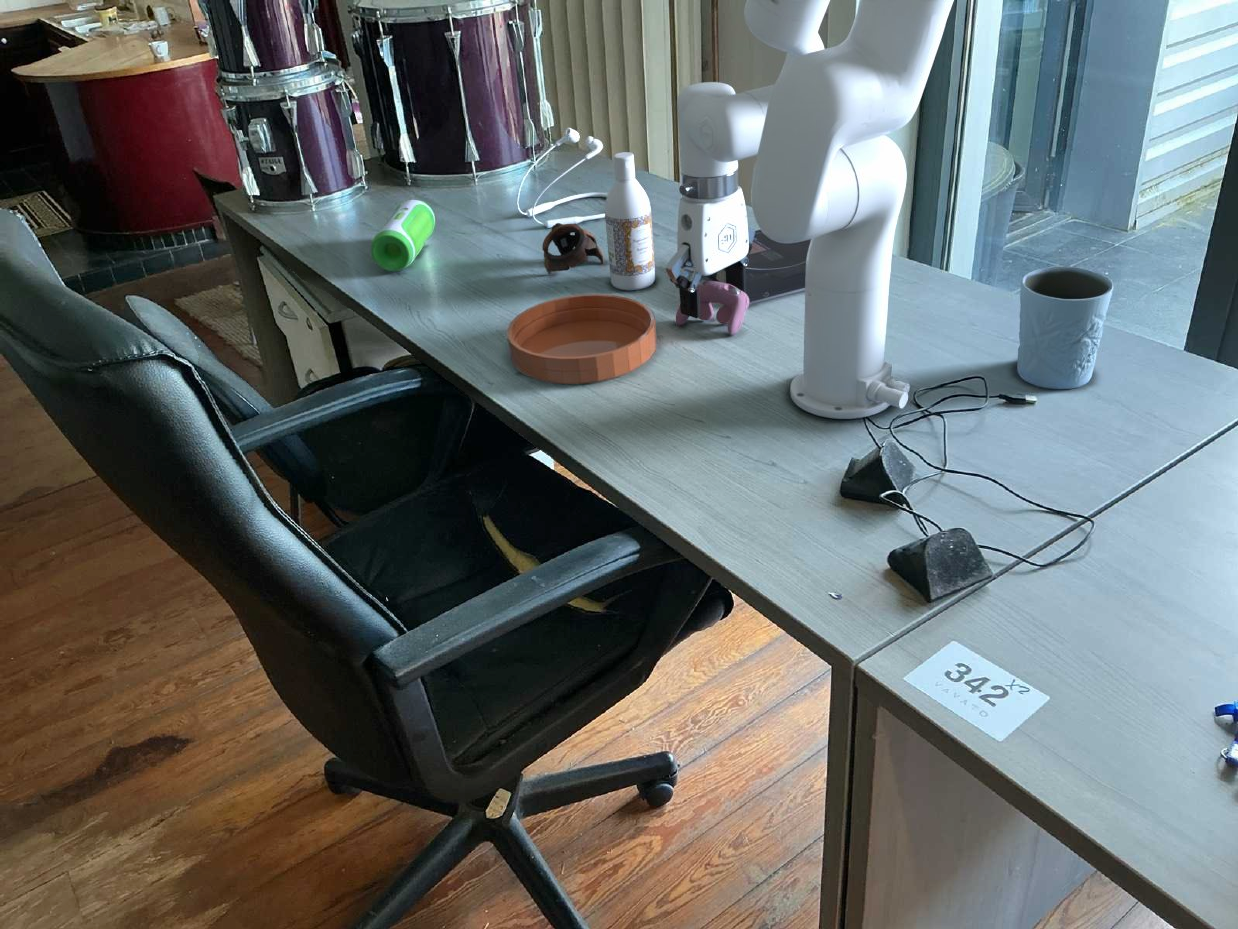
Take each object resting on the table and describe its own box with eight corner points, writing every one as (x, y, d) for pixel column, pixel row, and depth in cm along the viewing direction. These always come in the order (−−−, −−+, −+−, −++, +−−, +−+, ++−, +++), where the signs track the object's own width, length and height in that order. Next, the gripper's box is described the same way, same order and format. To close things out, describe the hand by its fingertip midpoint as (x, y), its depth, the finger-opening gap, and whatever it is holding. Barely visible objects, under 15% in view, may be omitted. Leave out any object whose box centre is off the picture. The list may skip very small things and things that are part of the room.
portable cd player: (692, 269, 165) (691, 245, 163) (785, 246, 170) (785, 223, 168) (742, 306, 152) (742, 280, 150) (842, 280, 157) (843, 255, 155)
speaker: (401, 237, 188) (393, 196, 184) (441, 235, 187) (433, 195, 183) (373, 275, 173) (364, 232, 169) (416, 274, 172) (407, 230, 168)
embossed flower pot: (1086, 398, 123) (1104, 305, 116) (999, 382, 127) (1011, 291, 121) (1103, 362, 130) (1120, 271, 123) (1019, 348, 134) (1032, 260, 128)
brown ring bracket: (618, 269, 168) (599, 236, 162) (572, 305, 168) (551, 273, 162) (583, 232, 175) (564, 198, 169) (538, 265, 175) (517, 233, 169)
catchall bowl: (686, 343, 143) (685, 317, 141) (580, 401, 132) (576, 373, 129) (586, 307, 156) (584, 283, 153) (481, 357, 144) (476, 331, 142)
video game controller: (746, 337, 147) (756, 287, 145) (733, 336, 143) (742, 285, 141) (685, 325, 151) (694, 277, 150) (670, 323, 147) (679, 274, 146)
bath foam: (627, 295, 158) (616, 165, 147) (602, 282, 163) (590, 155, 153) (664, 282, 161) (656, 154, 150) (638, 270, 166) (629, 144, 155)
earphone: (500, 197, 190) (559, 117, 189) (559, 248, 201) (615, 173, 201) (533, 216, 180) (595, 132, 179) (593, 269, 191) (652, 190, 190)
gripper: (686, 206, 129) (692, 332, 138) (773, 169, 139) (773, 289, 148) (643, 196, 134) (651, 318, 143) (730, 161, 144) (732, 277, 153)
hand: (713, 303), depth 146 cm, fingers open, 9 cm apart
